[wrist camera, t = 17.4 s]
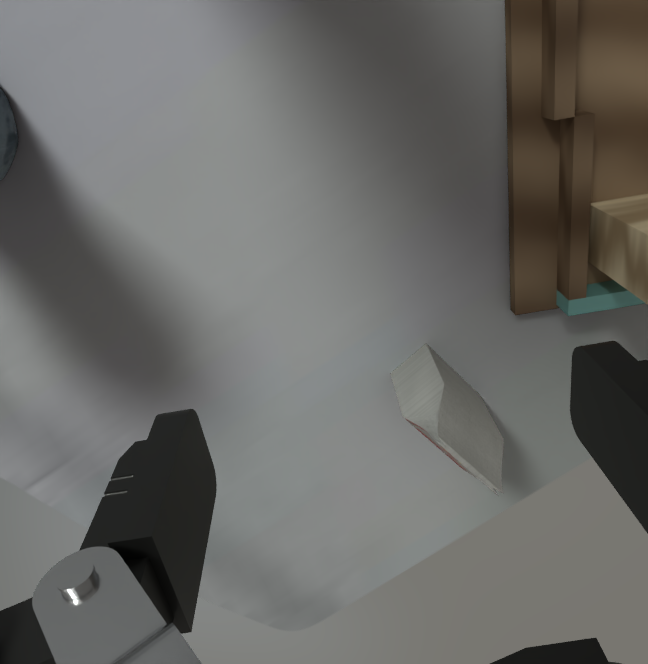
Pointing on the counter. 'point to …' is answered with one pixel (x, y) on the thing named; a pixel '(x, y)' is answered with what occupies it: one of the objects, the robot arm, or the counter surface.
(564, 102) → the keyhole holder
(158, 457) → the robot arm
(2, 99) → the moka pot
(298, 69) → the counter surface
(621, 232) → the maple peg
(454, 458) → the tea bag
